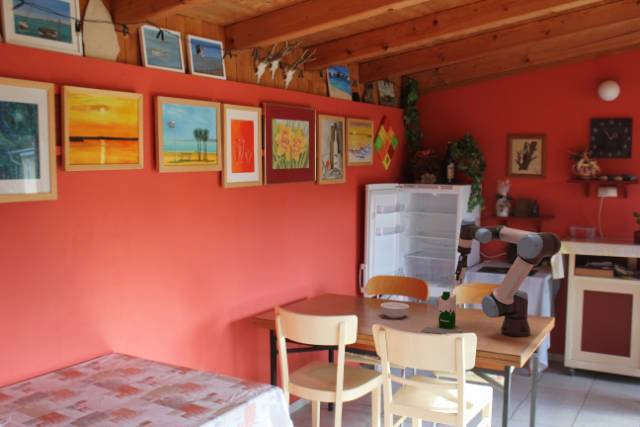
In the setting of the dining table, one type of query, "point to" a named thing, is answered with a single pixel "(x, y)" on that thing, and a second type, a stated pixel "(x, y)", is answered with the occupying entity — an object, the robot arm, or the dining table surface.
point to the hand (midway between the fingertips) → (459, 281)
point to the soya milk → (447, 310)
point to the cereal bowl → (394, 309)
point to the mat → (439, 330)
